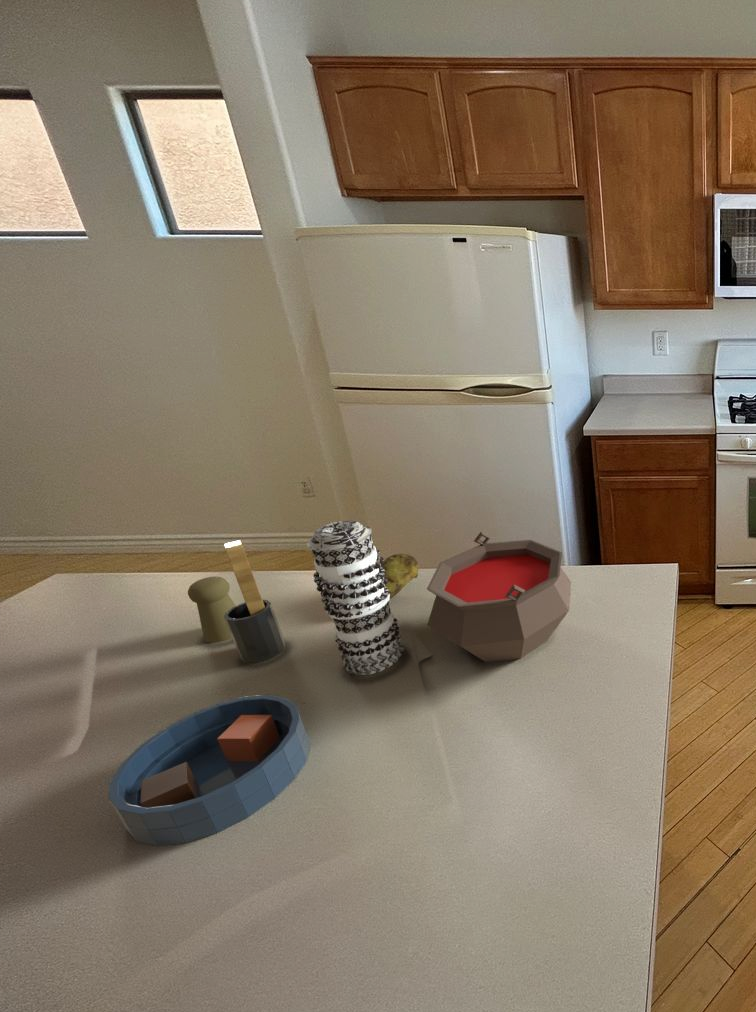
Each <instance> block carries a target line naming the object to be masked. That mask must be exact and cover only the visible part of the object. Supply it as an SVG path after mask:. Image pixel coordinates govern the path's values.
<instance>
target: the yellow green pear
mask: <svg viewBox="0 0 756 1012" xmlns="http://www.w3.org/2000/svg"><path fill="white" fill-rule="evenodd" d="M383 561H384V563H383V564H382V565H381V568H384V569H385V571H386V574H385V575H384V577H387V578H388V580H387V581H388V583H387V584H386V585H385V587H387V588H389V591H390V599H389V601H390V600H391V599H392V598H394V597H395V596H396V595H398V594H399V593H400V592H401V591H402V590H403V589H404V588H405V587H406V586H407V585H408V584H409V583H410V582H411V581H412V580H413V579H416V578H418V576H419V574H418V572H419V562H418V560H417V558H416V557H414V556H413V555H411V554H409V553H395V554H392V555H390V556H388V557H386V558H384V560H383ZM382 582H383V581H382Z"/></svg>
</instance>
